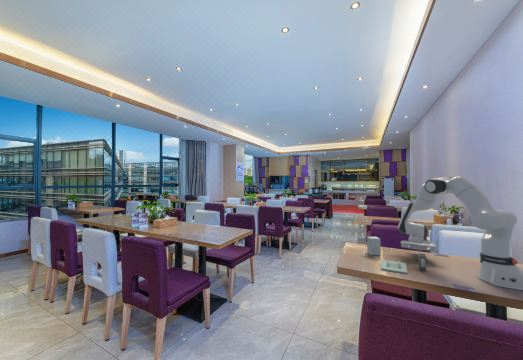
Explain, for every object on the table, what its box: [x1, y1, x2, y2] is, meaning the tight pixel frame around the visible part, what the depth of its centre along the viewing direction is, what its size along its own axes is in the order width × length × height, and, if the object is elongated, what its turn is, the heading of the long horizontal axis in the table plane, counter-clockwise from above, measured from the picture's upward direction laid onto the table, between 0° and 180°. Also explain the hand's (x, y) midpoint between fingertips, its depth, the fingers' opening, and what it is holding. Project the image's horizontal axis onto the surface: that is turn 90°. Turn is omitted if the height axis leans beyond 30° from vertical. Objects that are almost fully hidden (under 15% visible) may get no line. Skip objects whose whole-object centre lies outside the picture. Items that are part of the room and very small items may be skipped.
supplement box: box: [366, 236, 382, 256], centre depth 170 cm, size 7×7×13 cm
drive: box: [417, 252, 427, 272], centre depth 139 cm, size 6×3×9 cm, turn 150°
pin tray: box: [380, 259, 409, 275], centre depth 143 cm, size 18×14×4 cm
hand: (419, 248), depth 150 cm, fingers open, 8 cm apart
